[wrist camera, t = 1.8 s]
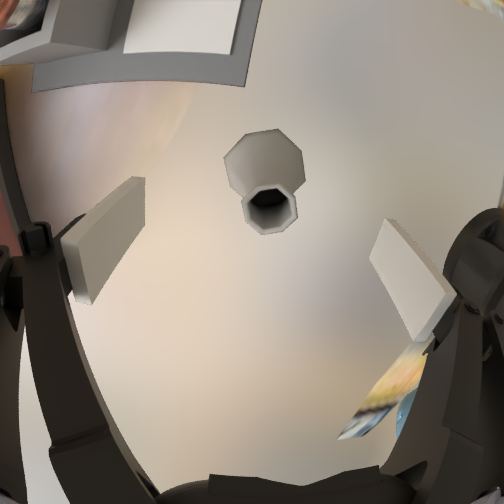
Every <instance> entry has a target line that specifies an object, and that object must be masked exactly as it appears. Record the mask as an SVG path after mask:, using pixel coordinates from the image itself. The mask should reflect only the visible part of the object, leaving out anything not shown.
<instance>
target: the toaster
mask: <svg viewBox="0 0 504 504" xmlns="http://www.w3.org/2000/svg"><path fill="white" fill-rule="evenodd" d="M28 224H31V222H30V219H29V216H28V213H27V210H26V207H25V204H24V200H23V197H22V193H21V190H20V186H19V182H18V178H17V174H16V170H15V165H14V161H13V156H12V151H11V145H10V140H9V133H8V126H7V118H6V109H5V97H4V81H3V80H2V79H0V245H6V246H8V247H9V249H10V252H11V256H23V254H22V251H21V247H20V243H19V239H18V233H19V231H20V230H21V229H22V228H23V227H25V226H26V225H28Z"/></svg>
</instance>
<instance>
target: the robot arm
mask: <svg viewBox="0 0 504 504" xmlns="http://www.w3.org/2000/svg"><path fill="white" fill-rule="evenodd" d="M144 225H145V178H144V177H133V176H132V177H131V178H129V179H128V180H127V181H125V182H124V183H123V184H122V185H120V186H119V187H118V188H117V189H115V190H114V191H113V192H112V193H111V194H109V195H108V196H107V197H106V198H105V199H103V200H102V201H101V202H100V203H99V204H97V205H96V206H95V207H94V208H93V209H92V210H91V211H89V212H88V213H87V214H83V215H81V216H79V217H77V218H75V219H74V220H73V221H72V222H70V223H69V225H67V226H66V227H65V228H64V230H62V231H61V232H60V233H59V234H57V235H56V236H55V237H54V238H52V233H51V228H50V225H49V223H47V222H34V223H31V224H28V225H26V226H25V227H23V228H22V229H21V230H20V231H19V233H18V239H19V243H20V247H21V251H22V254H23V256H11V252H10V249H9V247H8V246H6V245H0V504H28V501H27V488H26V483H25V474H24V468H23V461H22V454H21V446H20V432H19V408H18V407H19V402H18V401H19V399H18V397H19V396H18V395H19V393H18V392H19V372H20V359H21V349H22V341H23V334H24V327H26V336H27V343H28V350H29V356H30V362H31V367H32V372H33V377H34V382H35V386H36V390H37V395H38V398H39V402H40V406H41V409H42V413H43V416H44V419H45V422H46V426H47V428H48V432H49V434H50V438H51V441H52V445H51V447H50V448H49V457H50V461H51V464H52V466H53V469H54V471H55V473H56V476H57V478H58V480H59V482H60V484H61V486H62V489H63V490H64V493H65V495H66V497H67V498H68V500H69V502H70V504H504V211H503V210H501V209H498V208H491V209H487V210H485V211H483V212H481V213H479V214H478V215H476V216H475V217H474V218H473V219H472V220H471V221H469V223H468V224H467V225H466V226H465V227H464V228H463V230H462V231H461V232H460V233H459V235H458V236H457V238H456V239H455V241H454V243H453V245H452V247H451V249H450V251H449V253H448V255H447V258H446V261H445V264H444V269H443V275H442V273H441V272H440V271H439V270H438V269H437V267H436V266H435V265H434V263H433V262H432V261H431V260H430V259H429V257H428V256H427V255H426V254H425V253H424V251H423V250H422V249H421V248H420V247H419V246H418V244H417V243H416V242H415V241H414V240H413V239H412V238H411V237H410V235H409V234H408V233H407V232H406V231H405V230H404V229H403V228H402V227H401V226H400V225H399V223H398V222H397V221H396V220H393V219H388V218H385V219H384V222H383V224H382V227H381V230H380V232H379V235H378V237H377V240H376V242H375V245H374V247H373V249H372V252H371V254H370V257H369V260H370V261H371V263H372V265H373V266H374V268H375V270H376V272H377V273H378V275H379V277H380V279H381V280H382V282H383V284H384V286H385V288H386V289H387V291H388V293H389V295H390V297H391V299H392V301H393V302H394V304H395V306H396V308H397V310H398V312H399V314H400V316H401V318H402V320H403V322H404V324H405V326H406V328H407V330H408V332H409V334H410V336H411V338H412V340H413V342H419V341H426V339H427V338H428V337H429V335H430V334H431V333H432V331H433V333H434V335H435V338H434V339H433V341H432V342H431V343H430V345H429V346H428V347H427V348H426V350H425V351H424V352H423V354H422V355H423V356H424V355H425V354H426V353H428V356H427V360H426V363H425V367H424V370H423V373H422V377H421V380H420V383H419V386H418V387H417V388H416V389H415V390H413V391H412V392H410V393H409V394H407V395H406V396H405V397H404V398H403V400H402V401H401V403H400V405H399V408H398V412H397V420H396V433H397V442H396V444H395V446H394V448H393V450H392V452H391V454H390V456H389V458H388V460H387V461H386V462H385V464H384V465H383V466H382V467H381V468H380V469H379V465H377V466H372V467H367V468H362V469H356V470H350V471H344V472H342V473H339V474H337V475H334V476H331V477H329V478H326V479H324V480H321V481H318V482H315V483H312V484H309V485H305V486H298V485H292V484H286V483H281V482H276V481H271V480H267V479H262V478H258V477H239V476H226V475H215V474H210V475H209V479H208V480H202V481H195V482H190V483H186V484H182V485H179V486H176V487H174V488H171V489H169V490H167V491H165V492H163V493H162V494H160V493H159V491H158V490H157V488H156V487H155V486H154V484H153V483H152V482H151V480H150V479H149V477H148V476H147V474H146V473H145V471H144V470H143V469H142V467H141V466H140V464H139V463H138V461H137V460H136V459H135V457H134V456H133V454H132V452H131V450H130V449H129V447H128V445H127V444H126V442H125V440H124V438H123V437H122V435H121V433H120V431H119V429H118V427H117V425H116V424H115V421H114V419H113V417H112V416H111V414H110V411H109V409H108V407H107V405H106V403H105V401H104V399H103V397H102V395H101V392H100V390H99V387H98V385H97V383H96V380H95V378H94V375H93V373H92V370H91V368H90V365H89V363H88V360H87V357H86V355H85V352H84V349H83V346H82V343H81V340H80V337H79V334H78V331H77V328H76V324H75V321H74V317H73V314H72V310H71V307H70V303H69V300H68V297H67V296H68V295H69V293H70V292H71V290H73V294H74V297H75V300H76V301H77V302H81V303H84V304H89V305H92V304H93V302H94V301H95V299H96V297H97V296H98V294H99V292H100V291H101V289H102V288H103V286H104V284H105V283H106V281H107V280H108V278H109V276H110V275H111V273H112V272H113V270H114V269H115V267H116V266H117V264H118V263H119V261H120V260H121V258H122V257H123V255H124V254H125V252H126V251H127V249H128V248H129V246H130V245H131V244H132V242H133V241H134V239H135V238H136V236H137V235H138V234H139V232H140V231H141V230H142V228H143V227H144Z"/></svg>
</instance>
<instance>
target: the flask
mask: <svg viewBox="0 0 504 504" xmlns="http://www.w3.org/2000/svg"><path fill="white" fill-rule="evenodd" d="M224 161H225V165H226V170H227V175H228V179H229V183H230V187H231V188H232V189H233V190H234V191H236V192H237V193H238V194H239V195H241V196H242V197H243V199H242V200H241V203H242V208H243V212H244V216H245V221H246V223H247V224H249V225H250V226H251V227H252V228H254V229H255V230H256V231H257V232H258V233H260V234H261V235H265V234H272V233H278V232H283V231H284V230H285V229H286V228H287V227H288V226H289V225H291V224H292V223H293V222H294V221H295V220H296V219H297V218H298V214H297V207H296V199H295V196H294V195H293V193H294V192H295V191H296V190H297V189H298V188H299V187H300V186H301V185H302V184H303V183H304V182H305V181H306V180H305V173H304V165H303V158H302V151H301V150H300V149H299V148H298V147H297V146H296V145H295V144H294V143H293V142H292V141H291V140H290V139H289V138H288V137H286V136H285V135H284V134H283V133H282V132H281V131H280V130H279V129H273V130H266V131H260V132H255V133H249V134H245V135H244V136H243V137H242V138H241V139H240V140H239V141H238V142H237V144H236V145H235V146H234V147H233V148H232V149H231V150H230V151H229V152H228V153H227V154H226V156H225V157H224Z"/></svg>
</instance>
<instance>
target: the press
mask: <svg viewBox="0 0 504 504" xmlns="http://www.w3.org/2000/svg"><path fill="white" fill-rule="evenodd" d="M261 3H262V0H49V3H48V6H47V10H46V13H45V17H44V21H43V25H42V29H41V31H39V32H38V31H28V30H13V29H2V30H1V31H0V66H3V65H15V64H34V72H33V81H32V92H31V93H34V92H41V91H47V90H52V89H58V88H64V87H71V86H78V85H86V84H96V83H108V82H124V81H182V82H199V83H211V84H221V85H230V86H238V87H245V84H246V78H247V73H248V67H249V62H250V57H251V52H252V47H253V42H254V37H255V32H256V27H257V22H258V17H259V13H260V8H261Z"/></svg>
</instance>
